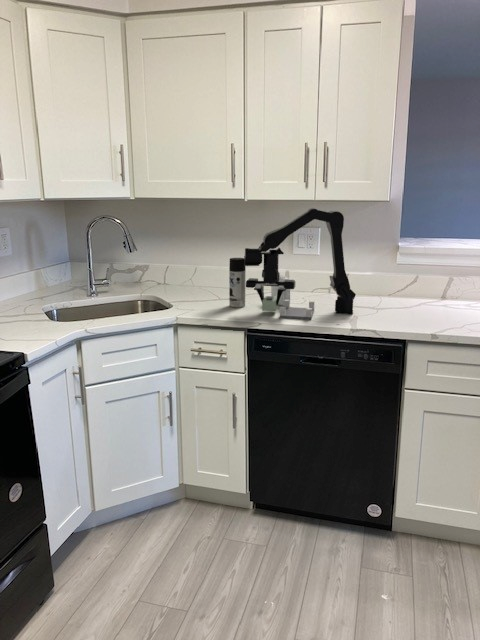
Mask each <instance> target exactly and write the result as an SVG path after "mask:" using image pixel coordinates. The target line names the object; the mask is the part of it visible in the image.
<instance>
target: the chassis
mask: <svg viewBox="0 0 480 640" xmlns="http://www.w3.org/2000/svg"><path fill="white" fill-rule="evenodd" d="M290 305H291V299H290V300H284V306H280V307H279V316H278V317H279V319H287V320H289V319H291V320H308V321H310V320H312V318H313V315H314V313H315V300H309V301H308V307H296V306H295V307H294V306H290Z"/></svg>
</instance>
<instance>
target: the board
mask: <svg viewBox="0 0 480 640" xmlns="http://www.w3.org/2000/svg"><path fill="white" fill-rule="evenodd" d="M276 301H277V296H271V295H266V296H264V299H263V300H262V301H261V310H262V311H263V312H276V311H277V309H279V308H278V307H279V305H278V306H277V305H276ZM262 311H261V312H262Z"/></svg>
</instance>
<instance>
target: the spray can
mask: <svg viewBox="0 0 480 640" xmlns="http://www.w3.org/2000/svg"><path fill="white" fill-rule="evenodd" d="M228 268H229V283H228V284H229V285H228V286H229V288H228V289H229V293H228V295H229V303H228V304H229V307H231V308H235V309H240V308H245V306H246V266H245V265H244V257H230V258H229V267H228Z"/></svg>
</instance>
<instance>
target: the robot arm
mask: <svg viewBox="0 0 480 640" xmlns="http://www.w3.org/2000/svg"><path fill="white" fill-rule="evenodd" d="M315 220H316V221H322V222H325V224H326V228H327V231H328V232H329V233H328V234H329V236H330V244H331V245H330V247H331V255H332V256H331V257H332V265H333V267H332V268H333V273H332V275H329V276H328V277H329V281H330V283H329V286H330V287H331V288H332V290H333V291H334V292H335V293H336V299H335V305H334V311H335V314H336V315H337V314H339V315H354V310H353V309H354V299H355V298H356V293H355V292H354V291H353V290H352V289H351V285H350V281H349V278H348V275H347V273H346V268H345V259H344V245H343V237H342V235H343V230H344V225H345V217H344V215H343V213H342V212H340V211H337V210H329V211H325V210H324V211H323V210H320V209H316V208H313V207H311V208H308V210H307V211H305V212H303V213H302V214H301V215H299V216H297V217H296V218H294V219H293V220H292V221H290V222H288V223H287V224H285V225H283V226H281V227H279V228H277V229H274V230H271V231H269V232H266V233H265V234H264V236H263V239H262V240H263V241H262V242H261V244H260V245H259V246H258V248H251V247H249V248H248V247H245V248H244V256H243V258H244V265H245V267H259V266H260V265H261V264H263V269H262V273H261V277H262V280H259V278H254V277H253V278H252V277H251V278H248V279H247V280H245V288H250V289H253V290H254V291H256V293H257V294H258V296H259V298H260V301H261V302H262V300H263V299H264V298H265V292H264V291H265V290H264V289H265V288H264V287H265V286H266V287H271V286H279V289H278V292H277V301H276V305H277V306H278V307H279V304H278V303H279V300H280V297H281V295H282V293H283V291H286V289H290V290H295V288H296V280H295V279H289V280H285V281H284V282H278V281H279V276H280V275H281V273H280V272H279V255H284V254H285V252H283V250H282V249H281V248H280V247H279V246H280V245H281V244H282V243H284V241H285V240H286V239H287V238H288V237H289V236H291V235H292V234H293V233H295V232H296V231H298V230H300V229H301V228H303V227H305V226H306V225H307V224H309V223H311V222H312V221H315Z"/></svg>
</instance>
